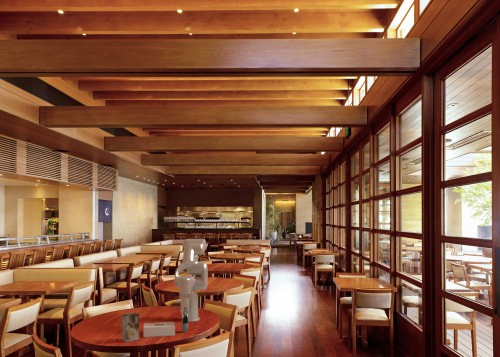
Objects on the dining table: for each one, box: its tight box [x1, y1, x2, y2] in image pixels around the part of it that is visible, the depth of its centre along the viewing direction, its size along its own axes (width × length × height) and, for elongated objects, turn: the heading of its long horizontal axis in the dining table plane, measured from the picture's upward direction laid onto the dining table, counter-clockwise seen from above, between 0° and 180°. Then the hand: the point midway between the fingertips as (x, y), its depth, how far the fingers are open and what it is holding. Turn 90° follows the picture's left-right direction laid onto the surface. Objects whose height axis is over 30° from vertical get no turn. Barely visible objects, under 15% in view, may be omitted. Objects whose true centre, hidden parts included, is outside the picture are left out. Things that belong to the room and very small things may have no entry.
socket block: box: [143, 321, 176, 338], centre depth 317 cm, size 12×20×6 cm, turn 101°
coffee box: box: [121, 312, 140, 343], centre depth 303 cm, size 9×6×16 cm
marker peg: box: [181, 314, 189, 334], centre depth 322 cm, size 4×4×12 cm
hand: (184, 321), depth 322 cm, fingers open, 9 cm apart
